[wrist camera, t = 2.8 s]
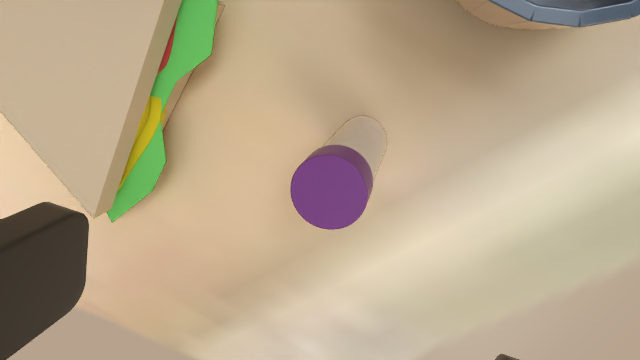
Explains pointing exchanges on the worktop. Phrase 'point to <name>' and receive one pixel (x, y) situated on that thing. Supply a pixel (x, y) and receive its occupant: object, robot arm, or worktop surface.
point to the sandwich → (100, 87)
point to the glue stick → (340, 175)
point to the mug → (550, 12)
